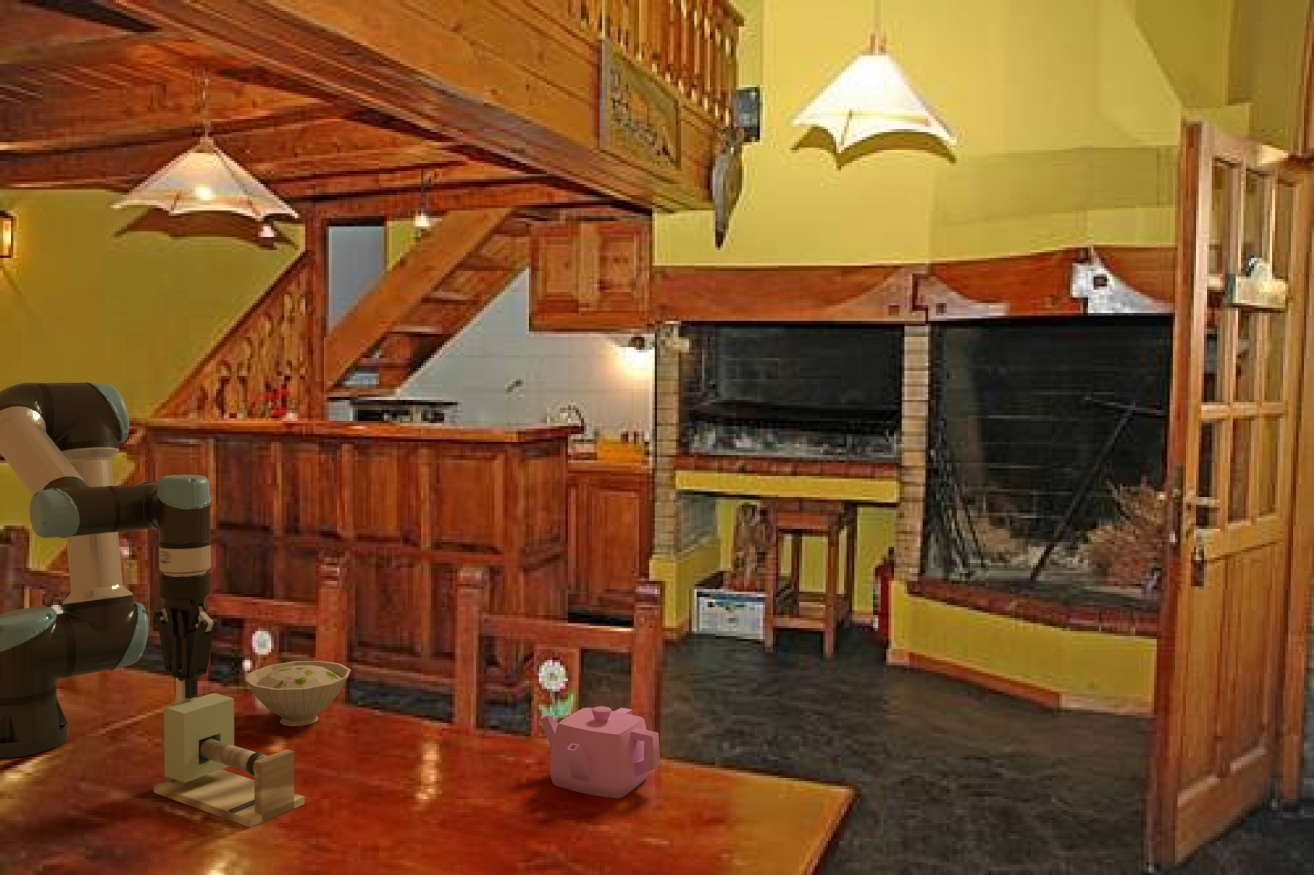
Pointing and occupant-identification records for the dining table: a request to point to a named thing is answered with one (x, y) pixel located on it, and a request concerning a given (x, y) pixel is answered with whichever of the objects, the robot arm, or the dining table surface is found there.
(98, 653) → the robot arm
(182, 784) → the rail stand
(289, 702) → the bowl
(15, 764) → the dining table surface
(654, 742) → the teakettle
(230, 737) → the square sliding block
